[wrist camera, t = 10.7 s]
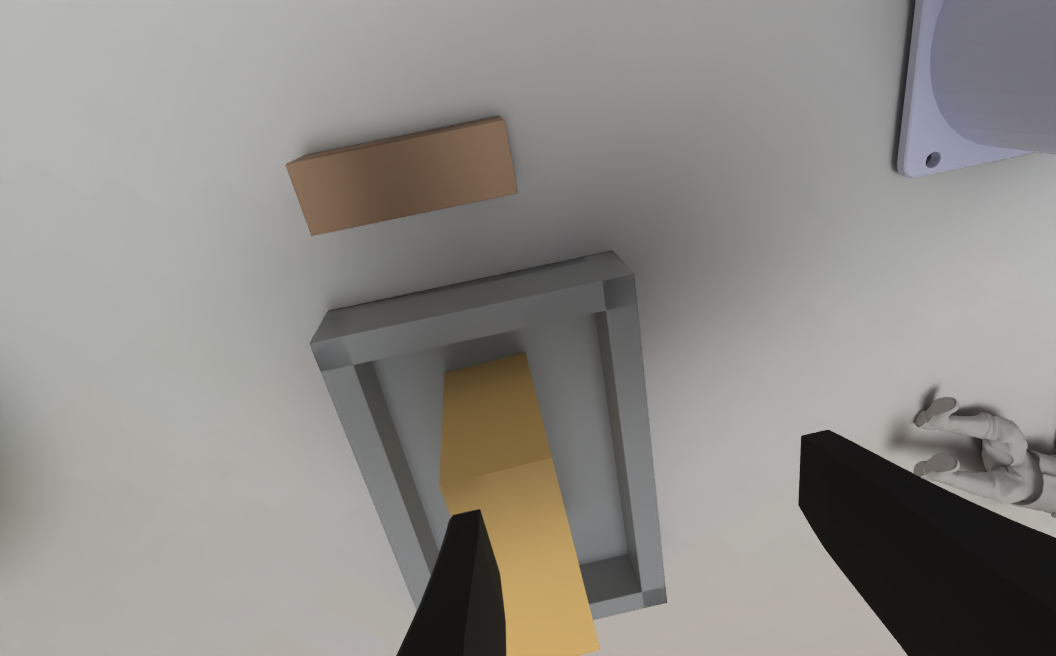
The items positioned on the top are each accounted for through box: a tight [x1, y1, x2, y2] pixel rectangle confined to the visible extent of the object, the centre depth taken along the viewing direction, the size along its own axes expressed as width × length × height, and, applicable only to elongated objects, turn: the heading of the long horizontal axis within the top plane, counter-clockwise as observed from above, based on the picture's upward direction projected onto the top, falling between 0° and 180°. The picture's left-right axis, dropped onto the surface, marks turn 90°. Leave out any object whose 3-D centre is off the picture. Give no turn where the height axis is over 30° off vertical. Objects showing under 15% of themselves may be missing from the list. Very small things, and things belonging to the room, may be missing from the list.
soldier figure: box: [914, 397, 1056, 518], centre depth 23 cm, size 8×5×12 cm
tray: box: [309, 251, 667, 620], centre depth 21 cm, size 10×15×2 cm, turn 10°
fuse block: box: [439, 352, 600, 656], centre depth 18 cm, size 3×8×6 cm, turn 12°
